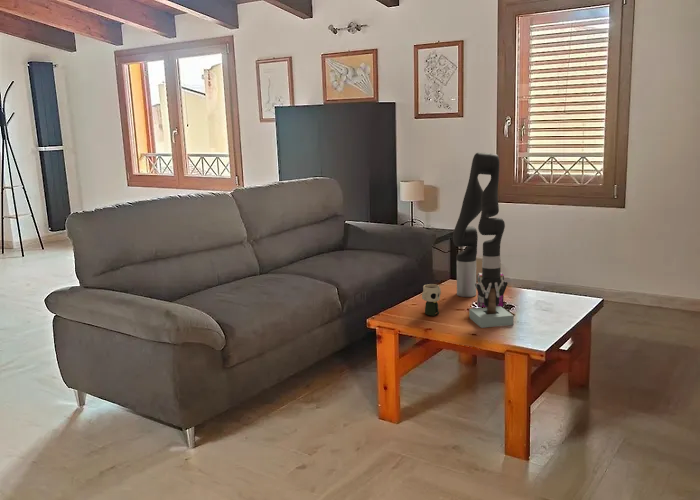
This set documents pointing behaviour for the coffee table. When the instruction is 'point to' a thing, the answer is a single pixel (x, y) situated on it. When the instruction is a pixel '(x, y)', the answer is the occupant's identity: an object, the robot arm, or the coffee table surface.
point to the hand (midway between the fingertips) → (491, 305)
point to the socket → (491, 317)
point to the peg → (491, 302)
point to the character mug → (431, 298)
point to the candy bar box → (480, 299)
